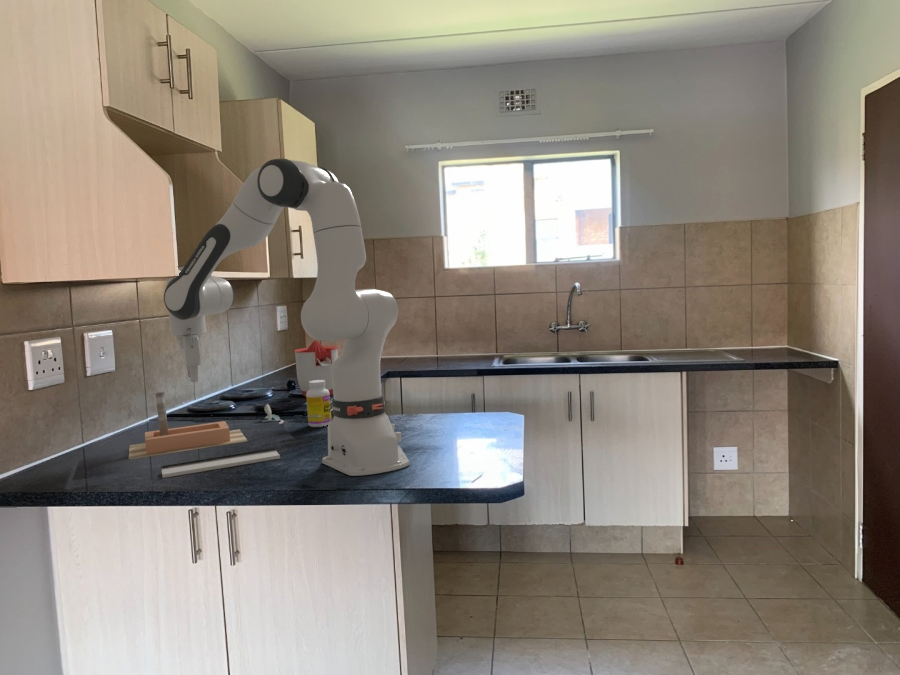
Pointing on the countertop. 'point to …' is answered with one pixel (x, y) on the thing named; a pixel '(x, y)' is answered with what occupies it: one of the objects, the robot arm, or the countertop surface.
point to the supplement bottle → (318, 404)
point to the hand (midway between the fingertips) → (192, 379)
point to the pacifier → (271, 415)
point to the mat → (219, 462)
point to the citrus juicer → (315, 365)
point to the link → (187, 437)
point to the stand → (140, 449)
